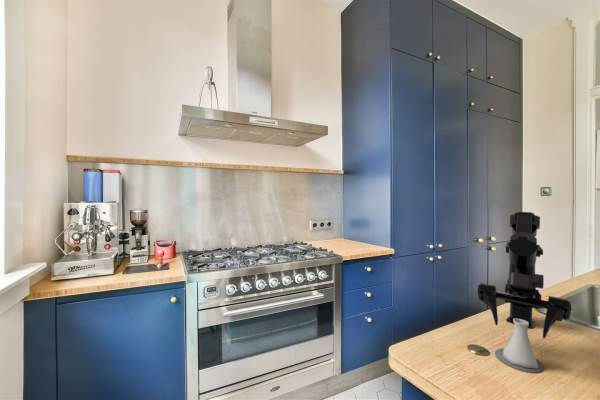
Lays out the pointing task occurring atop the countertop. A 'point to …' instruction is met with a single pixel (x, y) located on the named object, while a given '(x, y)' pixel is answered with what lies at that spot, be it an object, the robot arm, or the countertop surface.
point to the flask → (520, 346)
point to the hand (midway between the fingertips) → (519, 330)
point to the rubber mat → (531, 370)
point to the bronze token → (478, 350)
